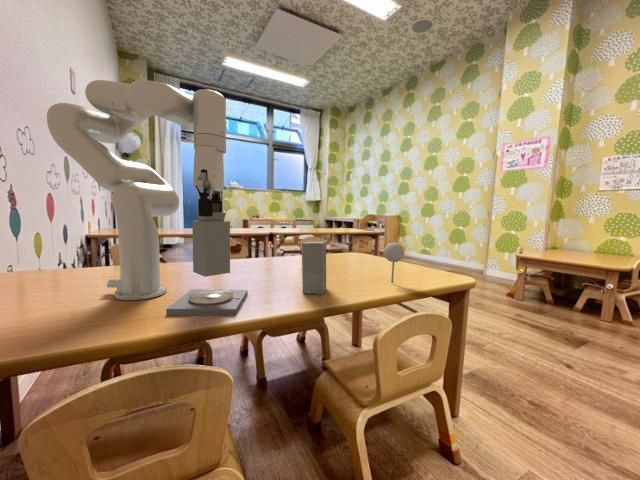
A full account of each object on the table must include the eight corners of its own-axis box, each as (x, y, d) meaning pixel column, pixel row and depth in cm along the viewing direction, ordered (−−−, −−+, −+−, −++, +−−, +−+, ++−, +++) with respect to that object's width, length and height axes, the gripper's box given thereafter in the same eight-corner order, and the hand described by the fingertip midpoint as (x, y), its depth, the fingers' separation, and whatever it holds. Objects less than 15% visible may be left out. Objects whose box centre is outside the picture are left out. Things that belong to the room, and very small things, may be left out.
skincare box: (322, 295, 85) (324, 243, 83) (299, 293, 87) (300, 242, 85) (327, 288, 93) (328, 240, 92) (306, 286, 95) (307, 239, 93)
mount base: (166, 315, 66) (166, 304, 66) (191, 294, 82) (191, 286, 82) (235, 315, 68) (235, 305, 67) (247, 294, 84) (247, 286, 83)
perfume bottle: (230, 272, 74) (229, 203, 72) (204, 276, 69) (203, 202, 67) (217, 268, 79) (217, 203, 77) (193, 271, 74) (191, 202, 72)
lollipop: (404, 286, 99) (407, 244, 97) (384, 285, 99) (386, 243, 97) (399, 281, 106) (401, 241, 104) (380, 280, 106) (382, 240, 104)
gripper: (206, 151, 79) (206, 214, 81) (180, 135, 61) (182, 216, 63) (233, 152, 79) (233, 215, 81) (215, 137, 62) (216, 217, 64)
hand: (211, 215), depth 72 cm, fingers closed on perfume bottle, 7 cm apart
